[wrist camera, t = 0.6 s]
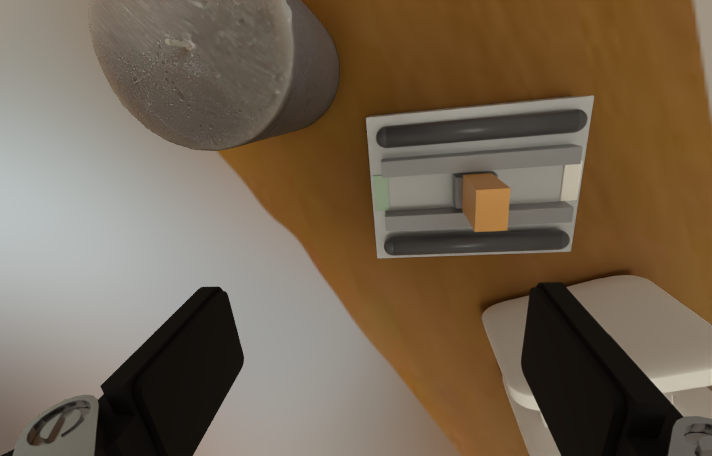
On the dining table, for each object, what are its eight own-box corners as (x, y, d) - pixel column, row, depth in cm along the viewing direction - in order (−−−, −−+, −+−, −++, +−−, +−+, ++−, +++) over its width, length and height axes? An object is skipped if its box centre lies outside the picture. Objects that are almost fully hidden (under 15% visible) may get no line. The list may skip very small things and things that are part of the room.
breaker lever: (491, 203, 26) (515, 230, 21) (452, 205, 27) (466, 232, 21) (493, 168, 25) (519, 187, 20) (453, 171, 26) (468, 190, 20)
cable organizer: (642, 262, 30) (780, 354, 19) (652, 351, 33) (774, 473, 22) (475, 302, 33) (513, 399, 23) (499, 379, 37) (541, 496, 26)
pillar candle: (268, 149, 30) (162, 193, 16) (204, 44, 27) (9, -13, 13) (362, 94, 27) (331, 90, 14) (301, -28, 25) (185, -190, 11)
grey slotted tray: (554, 237, 30) (580, 260, 26) (379, 244, 32) (376, 266, 28) (572, 95, 26) (607, 95, 21) (368, 115, 28) (363, 119, 24)
